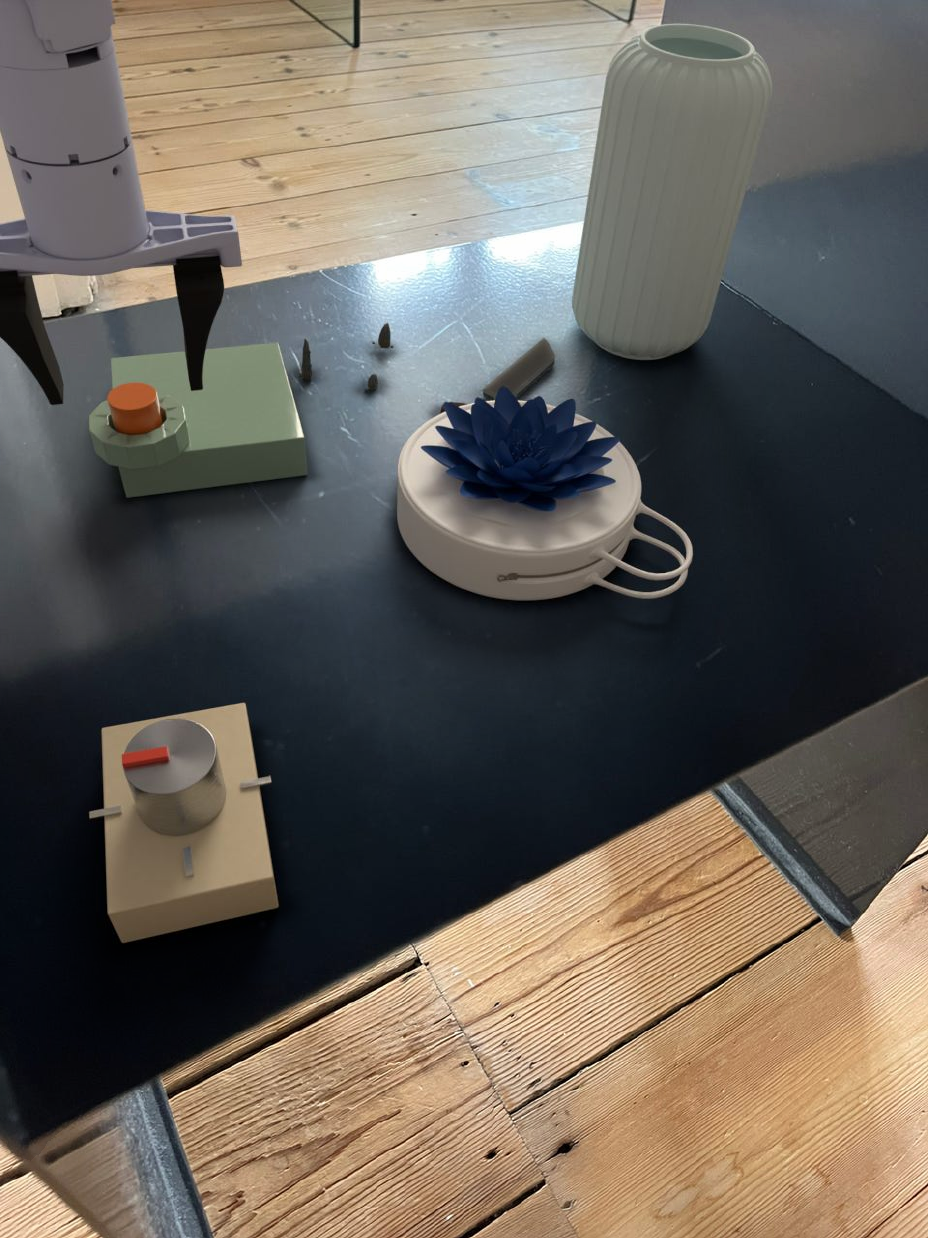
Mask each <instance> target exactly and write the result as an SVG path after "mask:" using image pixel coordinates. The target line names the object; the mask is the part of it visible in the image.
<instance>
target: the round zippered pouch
mask: <svg viewBox="0 0 928 1238" xmlns="http://www.w3.org/2000/svg"><path fill="white" fill-rule="evenodd" d="M449 402H450V401H443V405H444V409H445V411H446V412H443V413H441V414H440V413H439V414H437V415H435V416H434V417H432V418H430V419H429V420H427V421H425V422H424V423H423V424H422V425H421V426H420V427H418V428H417V429H416V430H415V431H414V432H413V433H412V434H411V435H410V436H409V438H407V440H406V441H405V443H404V445H403V446H402V449H401V451H400V454H399V457H398V462H397V484H396V485H397V487H396V488H397V489H396V490H397V491H396V493H397V496H396V497H397V500H396V519H397V520H396V521H397V525H398V530H399V532H400V535H401V537H402V540H403V541H404V543H405V545H406V547H407V548H408V550H409V551H410V552H411V554H412V555H413V556H414V557H415V558H416V559H417V560H418V561H419V563H421V565H422V566H424V567H425V568H426V569H428V570H429V571H430V572H431V573H433V574H435V576H438V577H439V578H441V579H442V580H444V581H446V582H448V583H450V584H451V585H453V586H455V587H457V588H460V589H462V590H464V591H468V592H471V593H474V594H477V595H480V596H484V597H489V598H494V599H498V600H499V599H500V600H506V601H507V600H509V601H542V600H549V599H550V600H551V599H556V598H562V597H564V596H565V597H566V596H568V595H572V594H576V593H577V592H580V591H583V590H585V589H587V588H589V587H591V586H593V585H598V586H601V587H603V588H605V589H608V590H611V591H613V592H615V593H619V594H621V595H624V596H627V597H631V598H636V599H642V600H653V599H658V598H662V597H665V596H668V595H671V594H673V593H674V592H676V591H677V590H679V589H680V588H681V587H682V586H683V585H684V584H685V582H686V580H687V577H688V572H689V567H690V565H691V564H692V561H693V556H694V551H693V544H692V541H691V540H690V538H689V535H688V534H687V533H686V532H685V531H684V530H683V529H682V528H681V527H680V526H679V525H677V524H676V523H675V522H674V521H671V520H670V519H669V518H667V517H665V516H663V515H662V514H660V513H658V512H657V511H655V510H653V509H651V508H650V507H648V506H646V505H645V504H644V503H643V502H642V499H641V497H642V479H641V475H640V472H639V470H638V467H637V464H636V462H635V460H634V458H633V457H632V455H631V454H630V453H629V451H628V449H626V448H625V446H624V445H623V444H622V443H621V442H620V441H621V437H619V436H614V434H612V433H610V432H609V431H608V430H606V429H605V428H604V427H603V426H600V425H599V424H598V423H597V422H596V421H593V420H590V419H589V418H586V417H584V416H582V415H580V414H578V413H576V412H577V411H576V410H577V403H576V402H577V401H576V400H575V399H574V398H567V399H566V400H564V401H562V402H561V403H560V404H558V405H557V406H554V405H551V404H547V403H546V402H545V399H544V398H543V396H541V395H537V396H535V397H534V398H533V399H532V398H529V400H519V399H518V398H517V399H516V397H515V396H514V395H513V394H512V392H511V391H510V390H509V389H508V388H506V387H505V386H502V387H500V388H499V390H498V393H497V395H496V399H495V400H494V401H492V400H484V398H481V397H478V396H477V397H475V399H474V402H471V403H466V404H467V405H463V406H460V407H458V406H456V405H454V404H451V403H449ZM639 514H645V515H648V516H649V517H652V518H654V519H656V520H658V521H659V522H661V523H663V524H664V525H665V526H667V527H669V528H670V529H671V530H672V531H674V532H675V534H677V535H678V537H680V539H681V540H682V542H683V543H684V547H685V552H686V555H685V557H684V555H683V554H681V552H680V551H679V550H677V549H676V548H675V547H673V546H671V545H670V544H667V543H666V542H663V541H661V540H660V539H659V540H658V539H657V538H654V537H653V536H650V535H647V534H645V533H642V532H641V531H639V530H637V529H636V528H635V526H634V523H635V520H636V516H637V515H639ZM634 539H635V540H640V541H643V542H646V543H648V544H651V545H654V546H655V547H657V548H659V549H662V550H664V551H666V552H667V553H668V554H670V555H672V556H673V557H674V558H675V559H676V560H677V561H678V563H679V565H680V566H679V567H678V568H677V569H674V570H671V571H667V572H665V573H656V572H655V573H654V572H648V571H644V570H642V569H638V568H636V567H634V566H632V565H630V564H628V563H626V562H624V561H622V560H623V558H624V555H625V554H626V552H627V550H628V547H629V544H630V541H632V540H634ZM616 567H618V568H620V569H622V570H623V571H626V572H627V573H629V574H632V575H633V576H637V577H639V578H642V579H646V580H648V581H649V580H650V581H665V580H666V581H667V580H670V579H674V578H676V577H678V576H679V578H678V580H677V581H676V582H674V584H672V585H671V586H669V587H667V588H664V589H661V590H656V591H651V592H650V591H649V592H647V591H646V592H644V591H636V590H631V589H629V588H625V587H622V586H619V585H616V584H613V583H611V582H608V581H607V580H604V578H606V577H607V576H608V575H610V573H611V572H612V571H614V570H615V569H616Z"/></svg>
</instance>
